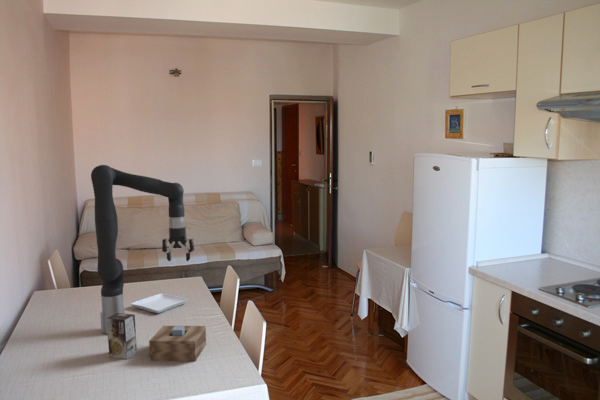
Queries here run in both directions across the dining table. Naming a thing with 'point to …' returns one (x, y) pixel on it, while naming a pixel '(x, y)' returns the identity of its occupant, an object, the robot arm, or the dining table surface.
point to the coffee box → (121, 335)
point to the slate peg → (178, 331)
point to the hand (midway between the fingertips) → (178, 260)
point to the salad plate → (159, 303)
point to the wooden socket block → (177, 344)
